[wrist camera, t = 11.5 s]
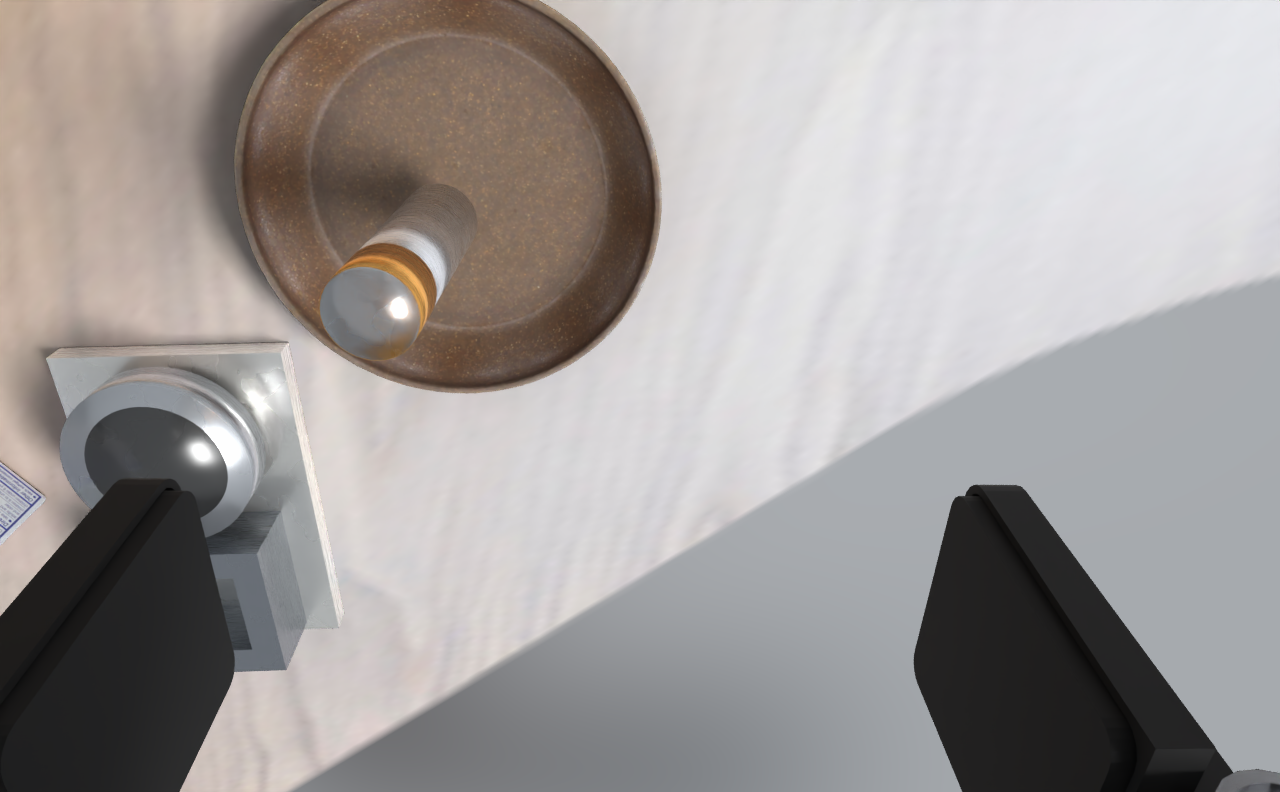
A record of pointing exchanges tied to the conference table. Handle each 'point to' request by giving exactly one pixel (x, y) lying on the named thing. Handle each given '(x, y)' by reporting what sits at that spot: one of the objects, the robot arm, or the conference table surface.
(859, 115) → the conference table surface
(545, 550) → the conference table surface
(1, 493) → the medicine box
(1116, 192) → the conference table surface
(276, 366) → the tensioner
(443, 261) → the pin
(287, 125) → the saucer
